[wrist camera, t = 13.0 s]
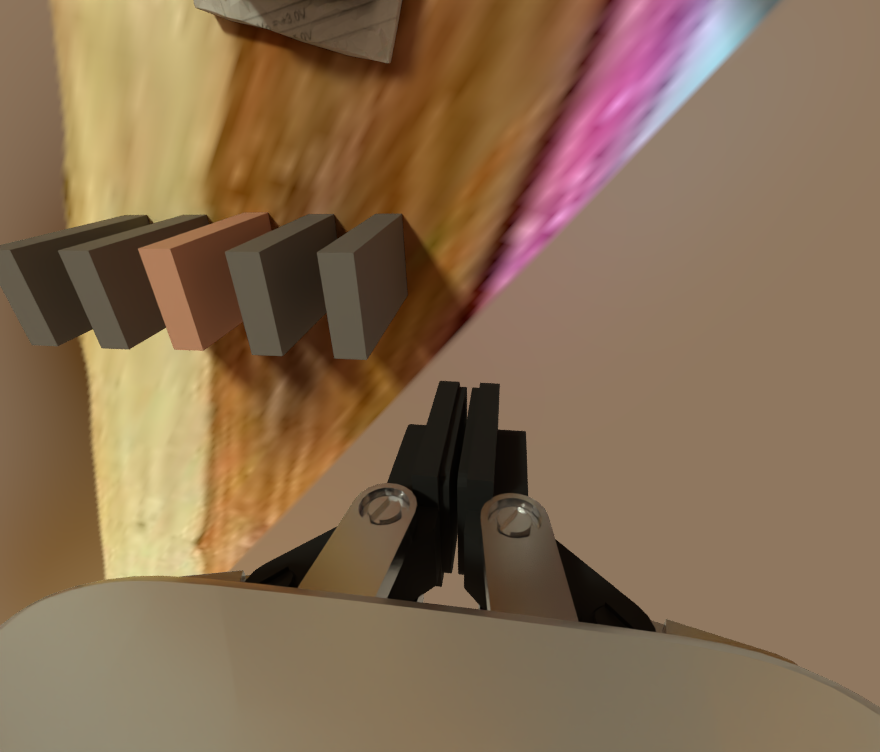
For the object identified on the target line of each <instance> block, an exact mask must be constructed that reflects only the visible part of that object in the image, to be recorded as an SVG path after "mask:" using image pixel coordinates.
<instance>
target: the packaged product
mask: <svg viewBox="0 0 880 752" xmlns="http://www.w3.org/2000/svg"><path fill="white" fill-rule="evenodd" d="M401 4H402V0H194V5H195V8H198V9H200V10H203V11H206V12H208V13H211V14H214V15H217V16H219V17H222V18H225V19H227V20H230V21H234V22H238V23H243V24H247V25H252V26H256V27H261V28H265V29H268V30H271V31H274V32H277V33H279V34H282V35H285V36H288V37H291V38H293V39H296V40H299V41H302V42H305V43H308V44H312V45H315V46H318V47H322V48H325V49H328V50H332V51H335V52H338V53H342V54H345V55H348V56H353V57H359V58H364V59H370V60H375V61H380V62H384V63H391V59H392V54H393V48H394V43H395V37H396V32H397V27H398V21H399V16H400V10H401Z"/></svg>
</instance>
